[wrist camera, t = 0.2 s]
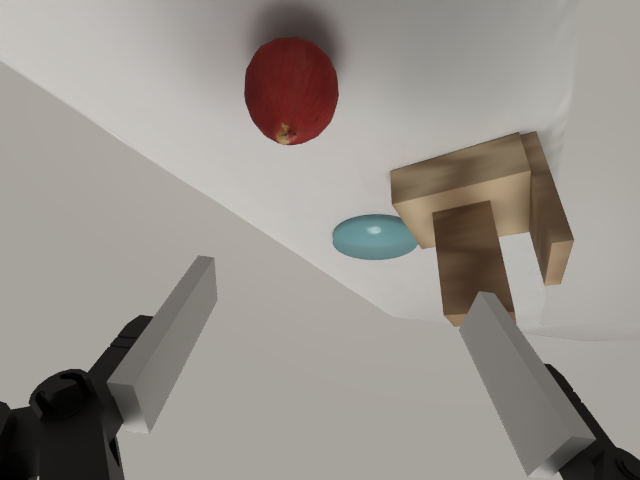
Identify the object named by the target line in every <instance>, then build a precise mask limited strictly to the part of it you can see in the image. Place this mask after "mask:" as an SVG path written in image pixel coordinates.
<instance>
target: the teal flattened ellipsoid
mask: <svg viewBox="0 0 640 480" xmlns="http://www.w3.org/2000/svg"><path fill="white" fill-rule="evenodd" d="M333 245H334V247H335V248H336V249H337V250H338V251H339V252H341V253H343V254H345V255H347V256H350V257H354V258H358V259H366V260H383V259H391V258H396V257H400V256H402V255H405V254H407V253H409V252H411V251H412V250H414V249H415V248H416V246H417V245H418V242H417V241H416V239H415V238H414V237H413V235H412V234H411V232H410V231H409V229H408V228H407V226H406V225H405V223H404V222H403V220H402V219H401V218H398V217H394V216H388V215H365V216H359V217H355V218H352V219H349V220H346V221H344V222H342V223H341V224H339V225H338V226H337V227H336V228H335V230H334V232H333Z"/></svg>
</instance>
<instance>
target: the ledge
mask: <svg viewBox="0 0 640 480" xmlns="http://www.w3.org/2000/svg"><path fill="white" fill-rule="evenodd" d="M390 174H391V196H392V205H393V207H394V208H395V210H396V211H397V213H398V214H399V216H400V217H401V219H402V220H403V222H404V223H405V225H406V226H407V228H408V229H409V231H410V232H411V234H412V235H413V237H414V238H415V239H416V241H417V242H418V244H419V245H420V247H421V248H422V249H425V248H432V247H436V243H435V235H434V226H433V217H432V212H437V211H441V210H446V209H450V208H455V207H460V206H464V205H469V204H474V203H478V202H483V201H488V200H490V203H491V207H492V212H493V216H494V221H495V225H496V230H497V234H498V237H501V236H507V235H513V234H520V233H526V232H529V231H530V235H531V239H532V242H533V246H534V249H535V253H536V257H537V260H538V264H539V267H540V271H541V275H542V278H543V282H544V285H545V286H546V285H558V284H561V281H562V278H563V275H564V271H565V268H566V265H567V262H568V258H569V255H570V252H571V249H572V245H573V242H574V238H573V235H572V232H571V230H570V227H569V224H568V221H567V218H566V215H565V213H564V210H563V207H562V204H561V201H560V198H559V195H558V192H557V190H556V187H555V184H554V181H553V178H552V175H551V172H550V169H549V167H548V164H547V161H546V158H545V155H544V152H543V149H542V147H541V144H540V141H539V138H538V135H537V132H532V133H529V134H526V135H522V136H520V135H519V133H515V134H512V135H509V136H505V137H502V138H499V139H495V140H492V141H489V142H486V143H482V144H479V145H476V146H472V147H469V148H466V149H462V150H459V151H456V152H453V153H449V154H446V155H443V156H439V157H436V158H433V159H429V160H426V161H423V162H420V163H416V164H413V165H410V166H406V167H403V168H400V169H396V170H393V171H390Z"/></svg>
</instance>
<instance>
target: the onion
mask: <svg viewBox="0 0 640 480" xmlns="http://www.w3.org/2000/svg"><path fill="white" fill-rule="evenodd" d="M244 96H245V102H246V105H247V108H248V111H249V113H250V116H251V118H252V120H253V122H254V123H255V124H256V126H257V127H258V128H259V129H260V130H261V132H262V133H263V134H264V135H265V136H266V137H268V138H270V139H271V140H273V141H275V142H277V143H280V144H283V145H296V144H302V143H304V142H307V141H309V140H311V139H313V138H315V137H317V136H318V135H319V134H320V133H321V132H322V131H323V130H324V129H325V128H326V127H327V126H328V125H329V123H330V122H331V120H332V118H333V115H334V112H335V109H336V105H337V101H338V96H339V93H338V81H337V75H336V71H335V69H334V67H333V65H332V63H331V61H330V59H329V57H328V56H327V55H326V54H325V53H324V52H323V51H322V50H321V49H319V48H318V47H317V46H316V45H315V44H314V43H313V42H310V41H307V40H304V39H300V38H297V37H293V38H277V39H274V40H272V41H270V42H269V43H267V44H265V45H263V46H261V47H260V48H259V49H258V51H257V52H256V53H255V55H254V57H253V58H252V60H251V62H250V64H249V65H248V67H247V69H246V76H245V92H244Z"/></svg>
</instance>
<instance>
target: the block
mask: <svg viewBox="0 0 640 480" xmlns="http://www.w3.org/2000/svg"><path fill="white" fill-rule="evenodd" d="M432 217H433V226H434V235H435V243H436V252H437V261H438V269H439V278H440V286H441V295H442V304H443V312H444V316H445V317H446V318H447V319H448V320H449V321H450V322H451V323H452V324H453V325H454V326H456V327H457V326H461V325H462V323H463V321H464V319H465V317H466V315H467V313H468V312H469V310H470V308H471V306H472V304H473V302H474V300H475V298H476V296H477V294H478V292H479V291H481V292H489V293H494V294H495V295H496V296H497V298H498V299H499V301H500V302H501V304H502V305H503V306H504V308H505V309H506V311H507V312H508V314H509V315H510V316H511V318H512V319H513V321H514V322H515V324H516V319H515V311H514V306H513V302H512V297H511V293H510V288H509V284H508V279H507V275H506V270H505V266H504V261H503V257H502V252H501V248H500V243H499V239H498V234H497V230H496V225H495V221H494V216H493V212H492V207H491V203H490V200H488V201H483V202H478V203H474V204H469V205H464V206H460V207H455V208H450V209H446V210H441V211H437V212H432Z"/></svg>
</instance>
